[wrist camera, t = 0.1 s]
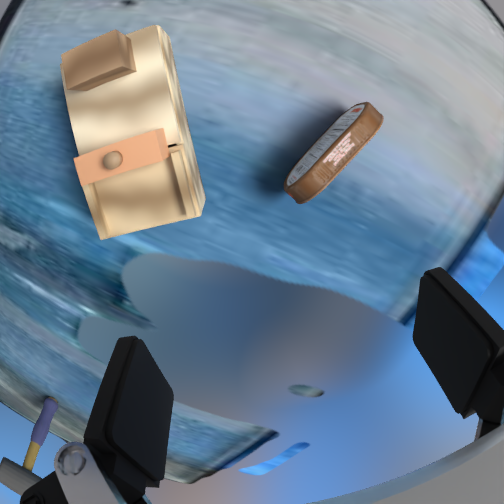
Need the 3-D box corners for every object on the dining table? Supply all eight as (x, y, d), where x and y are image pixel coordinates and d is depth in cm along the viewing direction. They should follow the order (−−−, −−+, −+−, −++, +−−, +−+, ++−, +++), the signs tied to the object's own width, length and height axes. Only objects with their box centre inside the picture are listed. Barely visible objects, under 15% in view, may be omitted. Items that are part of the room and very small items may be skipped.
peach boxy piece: (88, 153, 28) (67, 160, 24) (163, 127, 28) (151, 130, 24) (95, 178, 29) (76, 189, 25) (170, 155, 29) (159, 162, 25)
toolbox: (84, 68, 29) (51, 62, 22) (169, 37, 29) (153, 18, 21) (123, 218, 39) (100, 244, 31) (205, 198, 39) (199, 220, 31)
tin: (292, 195, 39) (306, 216, 32) (274, 179, 38) (285, 197, 31) (366, 115, 35) (397, 118, 27) (350, 98, 34) (379, 96, 26)
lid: (64, 65, 24) (38, 60, 19) (157, 27, 24) (143, 12, 19) (87, 170, 30) (65, 182, 25) (181, 141, 30) (171, 146, 25)
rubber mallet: (31, 391, 56) (-6, 481, 29) (35, 381, 54) (-6, 477, 27) (70, 416, 60) (42, 508, 34) (77, 407, 58) (46, 507, 31)
